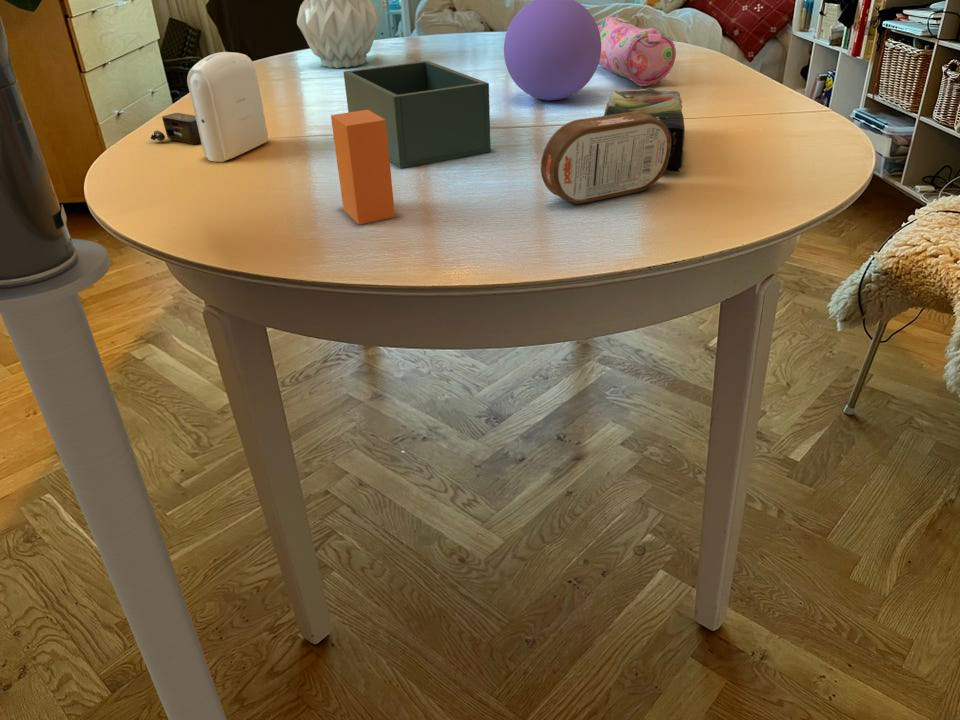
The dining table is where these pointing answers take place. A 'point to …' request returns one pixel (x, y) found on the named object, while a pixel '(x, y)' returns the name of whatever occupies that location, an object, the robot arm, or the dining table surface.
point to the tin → (605, 156)
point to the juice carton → (654, 114)
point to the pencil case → (635, 51)
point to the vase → (339, 30)
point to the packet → (363, 165)
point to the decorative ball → (552, 48)
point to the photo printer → (227, 105)
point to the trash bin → (424, 110)
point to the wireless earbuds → (179, 128)
